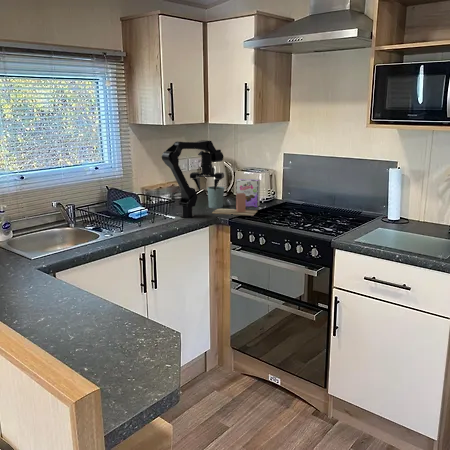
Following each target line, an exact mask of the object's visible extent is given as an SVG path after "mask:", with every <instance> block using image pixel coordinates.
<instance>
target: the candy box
mask: <svg viewBox="0 0 450 450" xmlns="http://www.w3.org/2000/svg"><path fill="white" fill-rule="evenodd" d="M235 185H236V186H235V194H236V193H244V194H246V207H250V208H258V207H260V192H261V191H260V190H261V189H260V188H261V187H260V186H261V180H260V179H255V178H254V179H253V178H237V179H236V180H235Z"/></svg>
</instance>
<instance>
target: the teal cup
mask: <svg viewBox="0 0 450 450" xmlns="http://www.w3.org/2000/svg"><path fill="white" fill-rule="evenodd" d="M224 193H225V187H224V186H218V185H217V188H216V191H215V190H214V186H208V187H207V199H208V208H210V209H223V206H224Z"/></svg>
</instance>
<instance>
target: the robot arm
mask: <svg viewBox="0 0 450 450" xmlns="http://www.w3.org/2000/svg"><path fill="white" fill-rule="evenodd" d="M183 150H199V151H200V152H198V153H197V155H198V156H201V159H200V161H201V165H200V167H201V173H200V172H199V171H193V172H191V173H190V174H189V179H191V180H193V181H194V183H195V185H196V187H197V189H198V191H201V178H214V180H213V182H214V183H213V184H214V190H215V191H216V188H217V186H218V184H219V182H220V181H221V180H223V179H224V178H225V173H224V172H215V170H216V169H215V167H214V166H213V163H218V162H219V163H220V162H223V161H224V154H223V152H222V149H216V147H215V145H214V143H213V142H212V140H204V139H203V140H202V139H201V140H198V141H178V140H177V141H175V142H174V143H173V144H172V145H170V147H168V148H167V149H166V150H165V151H163V153H162V155H161V159H162V161H163V163H164V164H165V166H167V167H169V169H170V170H171V172H172V174H173V176H174V179H175V181H176V183H177V184H178V186H179V188H180V195H181V197H180V198H179V200H178V205H179V206H181V213H182V215H181V216H180V215H179V218H184V219H185V218H186V219H191V218H193V217H195V214H193V210H194V209H193V207H196V204H197V201H198V193H197V190H196V188H195V187H190V184H189V183H188V181H187V179H186V177H185V175H184V173H183V171H182V169H181V167H180V164H179V163H180V158H179V157H180V156H181V154H182V151H183Z"/></svg>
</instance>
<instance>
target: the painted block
mask: <svg viewBox="0 0 450 450" xmlns="http://www.w3.org/2000/svg"><path fill="white" fill-rule="evenodd" d="M235 208H236V211H237V212H246V210H247V209H246V194H244V193H236V192H235Z"/></svg>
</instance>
